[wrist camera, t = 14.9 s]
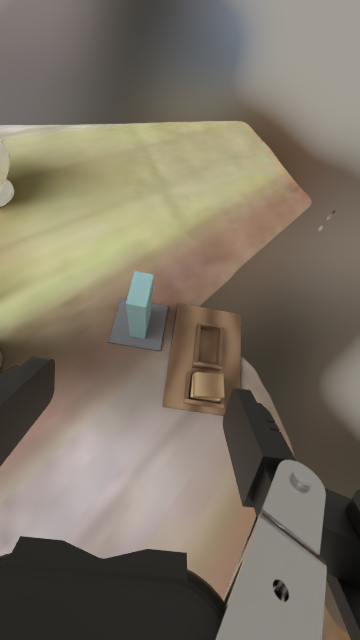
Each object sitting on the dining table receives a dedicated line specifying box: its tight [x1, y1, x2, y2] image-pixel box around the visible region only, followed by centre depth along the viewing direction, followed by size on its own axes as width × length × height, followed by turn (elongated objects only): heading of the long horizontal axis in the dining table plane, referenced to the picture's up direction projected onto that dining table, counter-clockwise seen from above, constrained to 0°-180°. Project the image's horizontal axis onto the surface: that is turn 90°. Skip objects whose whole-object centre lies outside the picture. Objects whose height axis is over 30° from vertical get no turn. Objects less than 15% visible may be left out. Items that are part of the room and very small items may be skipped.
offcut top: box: [193, 372, 224, 399], centre depth 40 cm, size 5×4×2 cm
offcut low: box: [189, 373, 220, 402], centre depth 42 cm, size 5×4×2 cm
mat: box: [109, 298, 168, 351], centre depth 47 cm, size 10×10×1 cm
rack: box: [162, 303, 241, 416], centre depth 45 cm, size 14×21×3 cm, turn 172°
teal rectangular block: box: [126, 271, 154, 339], centre depth 41 cm, size 3×6×13 cm, turn 172°
